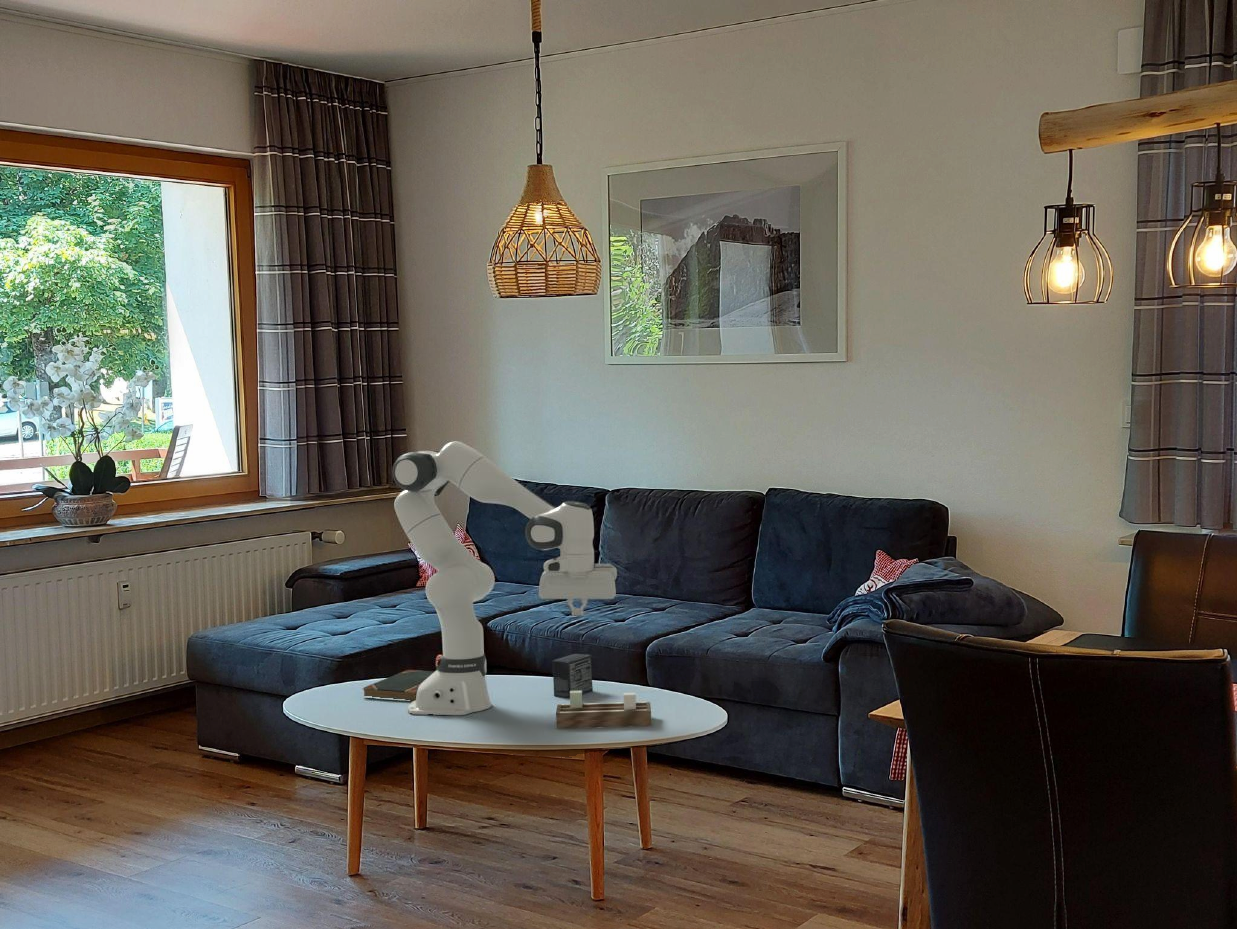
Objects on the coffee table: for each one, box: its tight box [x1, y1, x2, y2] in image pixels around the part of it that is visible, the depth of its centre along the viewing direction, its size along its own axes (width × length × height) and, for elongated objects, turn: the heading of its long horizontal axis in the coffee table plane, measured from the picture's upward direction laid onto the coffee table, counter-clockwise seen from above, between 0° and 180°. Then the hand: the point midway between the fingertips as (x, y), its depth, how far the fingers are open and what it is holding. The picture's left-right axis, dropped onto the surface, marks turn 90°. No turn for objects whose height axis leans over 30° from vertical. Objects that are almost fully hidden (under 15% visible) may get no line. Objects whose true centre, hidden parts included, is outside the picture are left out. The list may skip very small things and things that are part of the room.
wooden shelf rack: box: [555, 701, 652, 730], centre depth 324 cm, size 24×9×4 cm, turn 90°
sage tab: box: [569, 691, 583, 708], centre depth 325 cm, size 3×2×6 cm
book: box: [361, 669, 435, 701], centre depth 367 cm, size 17×4×25 cm
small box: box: [552, 653, 594, 700], centre depth 356 cm, size 11×6×10 cm, turn 144°
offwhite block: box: [623, 692, 637, 710], centre depth 321 cm, size 3×2×6 cm
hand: (577, 615), depth 333 cm, fingers closed
